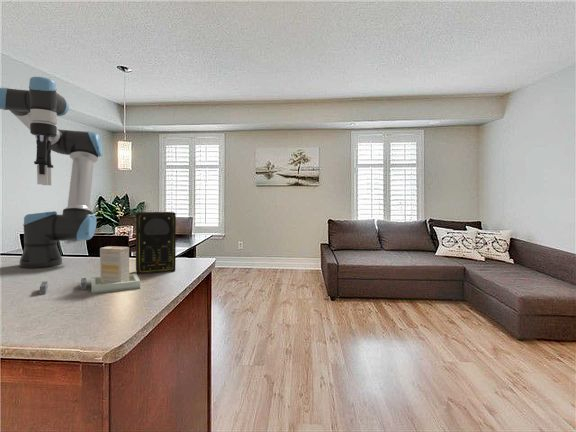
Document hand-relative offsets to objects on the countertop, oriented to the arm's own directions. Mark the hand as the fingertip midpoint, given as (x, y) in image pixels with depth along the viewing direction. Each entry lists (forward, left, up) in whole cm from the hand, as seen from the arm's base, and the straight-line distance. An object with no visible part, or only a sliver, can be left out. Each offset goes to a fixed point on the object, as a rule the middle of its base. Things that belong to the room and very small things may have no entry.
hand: (44, 185), depth 118 cm
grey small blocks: (+14, +6, -35) cm, 38 cm away
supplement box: (+17, +21, -34) cm, 43 cm away
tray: (+17, +21, -35) cm, 44 cm away
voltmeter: (-1, +37, -35) cm, 51 cm away
